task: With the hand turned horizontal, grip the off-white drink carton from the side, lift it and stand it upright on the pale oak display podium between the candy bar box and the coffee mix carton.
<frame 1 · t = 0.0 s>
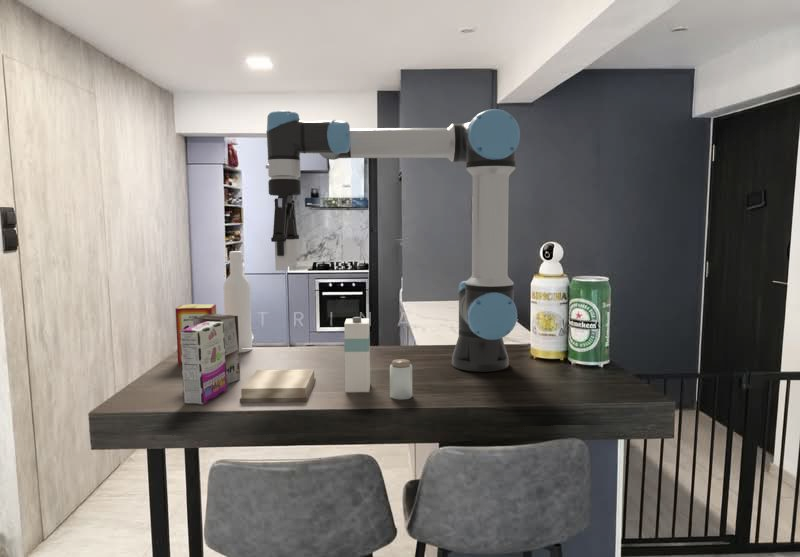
hand: (286, 267, 147), 28 cm above the table, tool pointing down, fingers open, 13 cm apart
carton: (358, 387, 143), on the table
bottle: (239, 350, 184), on the table
baking soda box: (198, 362, 170), on the table
ceramic jar: (401, 396, 137), on the table
candy bar box: (205, 398, 137), on the table
podium: (280, 391, 141), on the table
coffee box: (218, 381, 150), on the table
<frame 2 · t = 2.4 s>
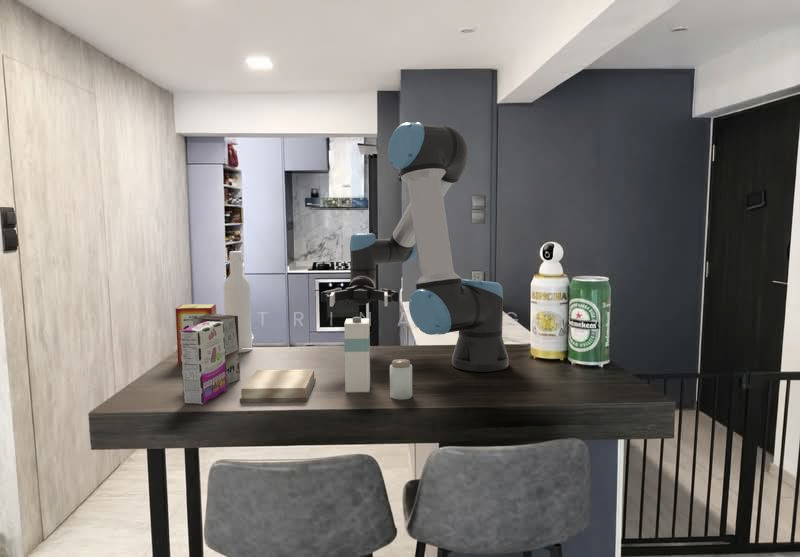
hand: (358, 301, 151), 19 cm above the table, tool horizontal, fingers open, 13 cm apart
nothing on the table moved.
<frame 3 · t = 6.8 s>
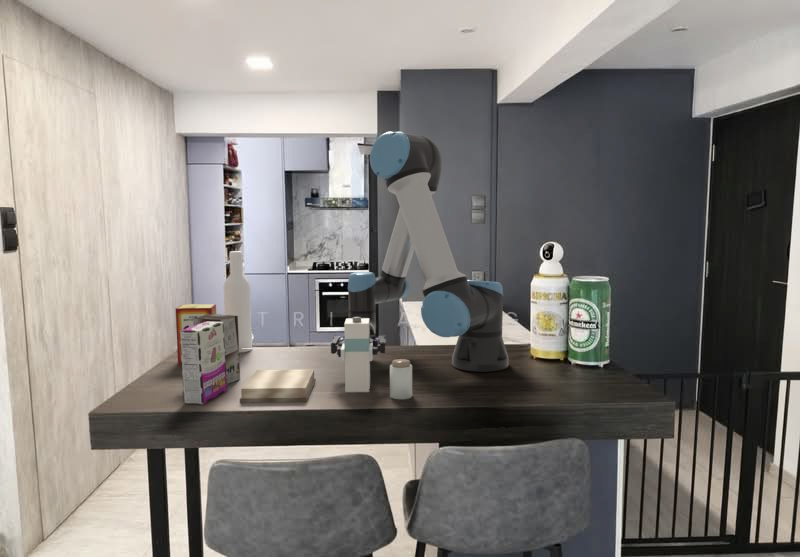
hand: (356, 355, 137), 9 cm above the table, tool horizontal, fingers closed on carton, 6 cm apart
carton: (358, 387, 143), on the table, touching gripper
everything else where it was.
when the fingers open (13 cm above the table, at t = 11.3 s): carton drops 1 cm, resting on podium.
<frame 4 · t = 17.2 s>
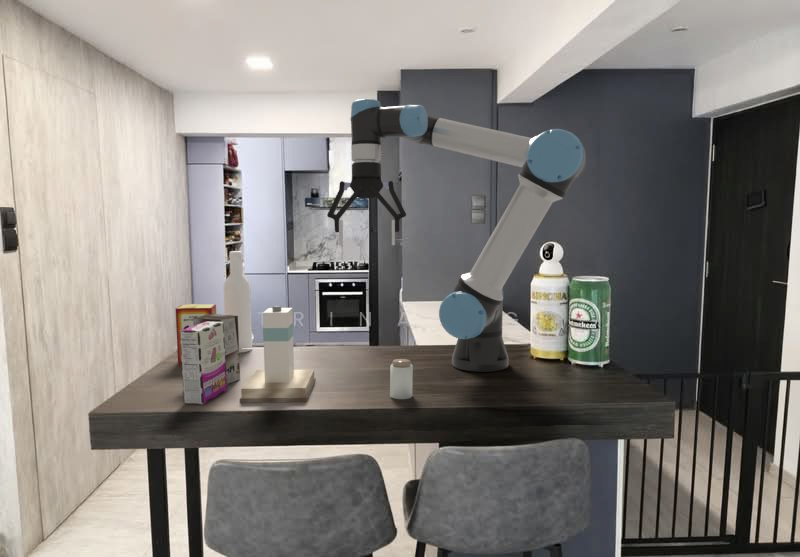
hand: (367, 245, 158), 33 cm above the table, tool pointing down, fingers open, 13 cm apart
carton: (279, 378, 141), point 3 cm above the table, touching podium
everything else where it was.
at the end: carton inside the target area on the podium (0.1 cm from its centre), point 3.0 cm above the podium's base; carton tilted 0°; the gripper is holding nothing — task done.
